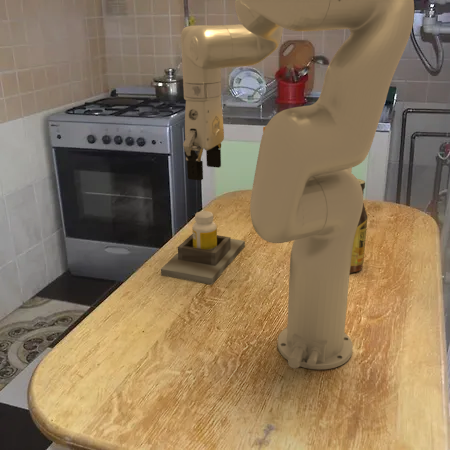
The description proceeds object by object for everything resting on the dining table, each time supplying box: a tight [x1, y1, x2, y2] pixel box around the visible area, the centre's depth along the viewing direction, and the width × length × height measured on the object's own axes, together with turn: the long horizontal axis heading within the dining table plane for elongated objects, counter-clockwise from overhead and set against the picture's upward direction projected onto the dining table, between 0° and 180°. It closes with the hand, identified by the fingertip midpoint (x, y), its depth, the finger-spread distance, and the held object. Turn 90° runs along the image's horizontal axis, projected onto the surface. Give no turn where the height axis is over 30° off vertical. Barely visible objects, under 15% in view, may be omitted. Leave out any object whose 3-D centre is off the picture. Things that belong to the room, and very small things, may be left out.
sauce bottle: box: [350, 178, 369, 274], centre depth 118 cm, size 7×6×20 cm
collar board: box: [160, 233, 246, 285], centre depth 124 cm, size 20×12×4 cm, turn 158°
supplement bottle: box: [191, 210, 218, 251], centre depth 123 cm, size 5×5×10 cm
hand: (205, 172), depth 117 cm, fingers open, 9 cm apart
